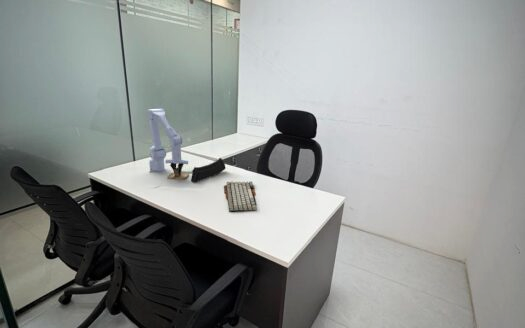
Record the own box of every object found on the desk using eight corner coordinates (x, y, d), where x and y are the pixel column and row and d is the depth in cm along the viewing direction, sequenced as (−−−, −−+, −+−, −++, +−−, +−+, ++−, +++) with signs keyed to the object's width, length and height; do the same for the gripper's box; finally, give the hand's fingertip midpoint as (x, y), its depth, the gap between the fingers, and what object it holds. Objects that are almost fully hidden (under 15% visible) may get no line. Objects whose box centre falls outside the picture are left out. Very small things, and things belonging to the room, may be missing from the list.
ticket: (174, 172, 184) (173, 170, 184) (178, 168, 193) (178, 166, 192) (190, 173, 184) (190, 171, 184) (194, 169, 193) (194, 167, 192)
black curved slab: (190, 172, 163) (221, 149, 184) (187, 170, 165) (218, 148, 185) (197, 193, 172) (226, 169, 193) (194, 192, 174) (223, 168, 194)
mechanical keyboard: (262, 212, 139) (263, 206, 138) (226, 214, 135) (226, 208, 134) (252, 184, 174) (252, 179, 173) (223, 185, 170) (223, 180, 169)
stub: (167, 178, 173) (166, 169, 171) (171, 174, 181) (171, 165, 179) (185, 179, 173) (184, 170, 171) (189, 175, 180) (188, 166, 178)
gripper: (163, 155, 167) (164, 175, 171) (185, 156, 166) (186, 176, 171) (167, 152, 173) (168, 171, 178) (188, 153, 173) (189, 172, 177)
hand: (177, 173), depth 175 cm, fingers closed on stub, 2 cm apart
